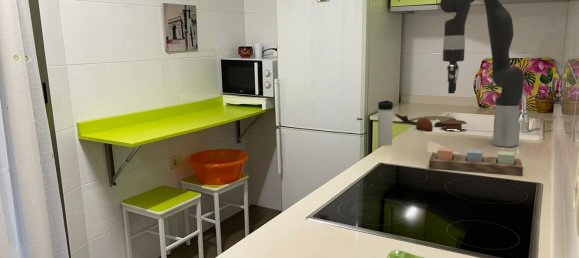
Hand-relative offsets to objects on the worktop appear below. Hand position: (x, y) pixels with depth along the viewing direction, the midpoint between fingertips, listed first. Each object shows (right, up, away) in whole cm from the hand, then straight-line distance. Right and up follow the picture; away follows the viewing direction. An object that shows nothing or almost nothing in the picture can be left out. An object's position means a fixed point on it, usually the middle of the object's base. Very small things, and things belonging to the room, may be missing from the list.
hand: (452, 92), depth 170 cm
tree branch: (+12, -13, +74) cm, 76 cm away
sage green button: (+14, -26, -13) cm, 32 cm away
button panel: (+5, -28, -9) cm, 29 cm away
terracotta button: (-5, -24, -5) cm, 25 cm away
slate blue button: (+5, -25, -9) cm, 27 cm away
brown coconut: (+20, -9, +54) cm, 58 cm away
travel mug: (-19, -22, +28) cm, 41 cm away
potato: (+10, -14, +56) cm, 59 cm away
